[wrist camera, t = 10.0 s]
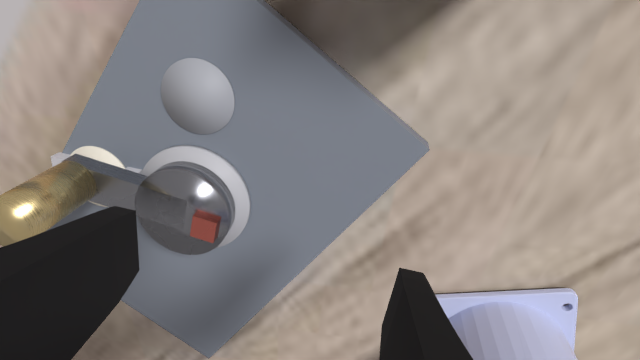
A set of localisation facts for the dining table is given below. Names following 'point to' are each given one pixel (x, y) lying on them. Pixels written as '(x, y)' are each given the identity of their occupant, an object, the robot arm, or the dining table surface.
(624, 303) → the dining table surface
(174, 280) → the plate
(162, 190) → the brass crank handle
